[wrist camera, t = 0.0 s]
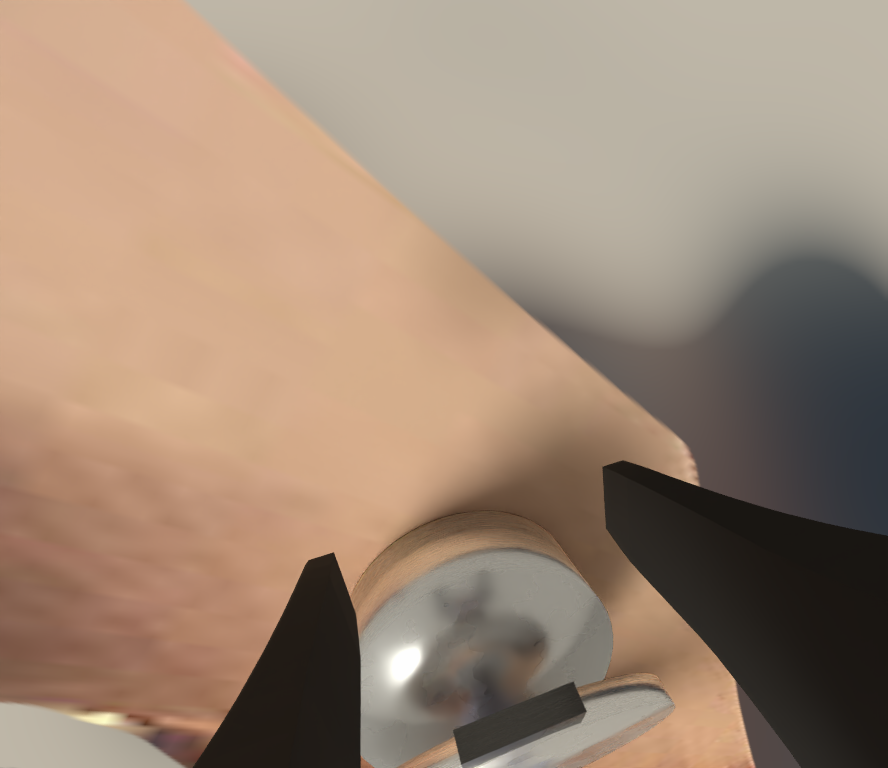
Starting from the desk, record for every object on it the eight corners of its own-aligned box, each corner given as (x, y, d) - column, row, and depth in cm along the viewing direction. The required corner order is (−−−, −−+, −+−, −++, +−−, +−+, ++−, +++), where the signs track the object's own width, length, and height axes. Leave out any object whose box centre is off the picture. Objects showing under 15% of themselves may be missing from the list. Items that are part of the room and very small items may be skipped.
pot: (577, 658, 29) (618, 727, 24) (380, 736, 26) (388, 827, 22) (559, 480, 23) (606, 530, 19) (312, 558, 21) (305, 635, 17)
